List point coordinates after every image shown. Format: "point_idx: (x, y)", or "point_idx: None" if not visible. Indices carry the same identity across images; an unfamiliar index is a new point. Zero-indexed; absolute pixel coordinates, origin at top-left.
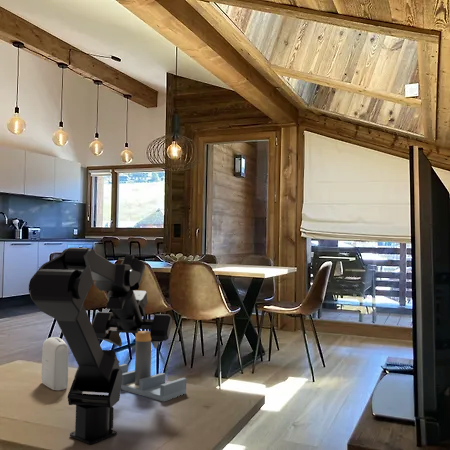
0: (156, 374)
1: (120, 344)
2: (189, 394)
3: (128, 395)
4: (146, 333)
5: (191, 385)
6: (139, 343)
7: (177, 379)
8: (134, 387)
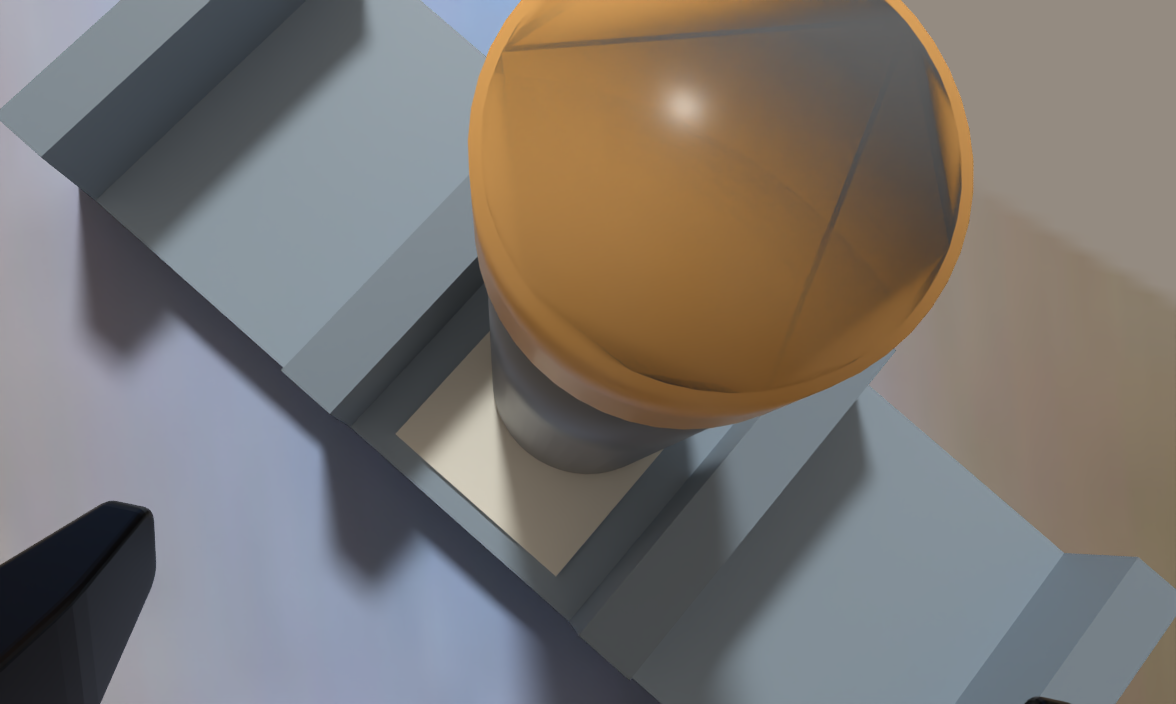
0: None
1: (117, 634)
2: None
3: (448, 642)
4: (831, 354)
5: (1103, 283)
6: (592, 407)
7: (1079, 642)
8: (504, 531)
